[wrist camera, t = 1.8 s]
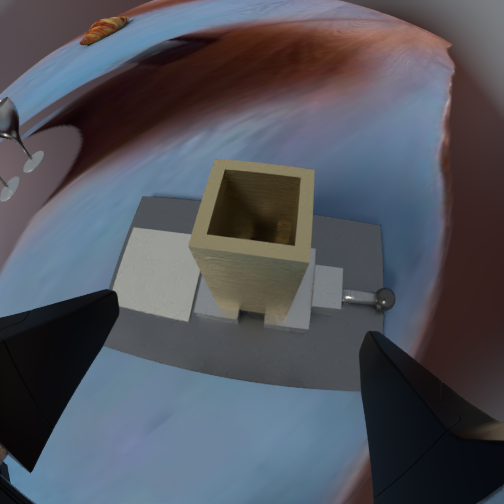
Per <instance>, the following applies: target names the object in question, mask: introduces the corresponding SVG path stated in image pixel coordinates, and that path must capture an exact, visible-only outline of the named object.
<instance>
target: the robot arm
mask: <svg viewBox="0 0 504 504" xmlns="http://www.w3.org/2000/svg"><path fill="white" fill-rule="evenodd" d="M119 313H120V309H119V302H118V295H117V293H116V292H115V291H113V290H109V289H105V290H101V291H97V292H94V293H90V294H87V295H83V296H79V297H76V298H72V299H69V300H65V301H61V302H58V303H54V304H51V305H47V306H44V307H40V308H36V309H33V310H31V311H30V310H29V311H26V312H22V313H18V314H14V315H10V316H6V317H1V318H0V504H35V503H34V502H33V501H31V500H30V499H29V498H28V497H26V496H25V495H24V494H23V493H21V492H20V491H19V490H18V489H17V488H15V487H14V486H13V485H12V484H11V483H10V478H9V473H8V467H7V465H6V464H5V463H4V462H3V461H4V459H5V458H6V457H7V455H9V456H10V457H11V458H12V459H14V460H15V461H16V462H17V463H18V464H20V465H21V466H22V467H23V468H25V469H26V470H27V471H28V472H30V473H31V472H32V471H33V469H34V467H35V465H36V463H37V461H38V459H39V457H40V454H41V452H42V450H43V449H44V447H45V445H46V443H47V441H48V439H49V437H50V435H51V433H52V431H53V429H54V427H55V425H56V424H57V422H58V420H59V418H60V416H61V415H62V413H63V411H64V409H65V408H66V406H67V404H68V402H69V401H70V399H71V397H72V395H73V394H74V392H75V390H76V389H77V387H78V385H79V384H80V382H81V380H82V379H83V377H84V376H85V374H86V372H87V371H88V369H89V367H90V366H91V364H92V363H93V361H94V360H95V358H96V356H97V355H98V353H99V352H100V350H101V349H102V347H103V345H104V343H105V342H106V340H107V338H108V336H109V334H110V332H111V330H112V328H113V326H114V324H115V322H116V320H117V318H118V316H119ZM359 366H360V384H361V395H362V402H363V408H364V415H365V422H366V429H367V436H368V444H369V453H370V462H371V473H372V483H373V484H372V485H373V498H374V499H373V503H374V504H504V422H501V421H498V420H496V419H494V418H492V417H491V416H490V415H488V414H487V413H485V412H484V411H482V410H481V409H479V408H478V407H476V406H475V405H473V404H472V403H470V402H469V401H467V400H466V399H465V398H463V397H462V396H460V395H459V394H457V393H456V392H455V391H454V390H452V389H451V388H450V387H449V386H447V385H446V384H445V383H442V381H441V380H440V379H438V378H437V377H436V376H435V375H433V374H432V373H431V372H430V371H428V370H427V369H426V368H424V367H423V366H422V365H421V364H420V363H418V362H417V361H416V360H414V359H413V358H412V357H411V356H409V355H408V354H407V353H406V352H404V351H403V350H402V349H400V348H399V347H398V346H397V345H395V344H394V343H393V342H392V341H390V340H389V339H388V338H386V337H385V336H384V335H383V334H381V333H380V332H378V331H367V332H366V334H365V337H364V339H363V342H362V345H361V347H360V350H359Z"/></svg>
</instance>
